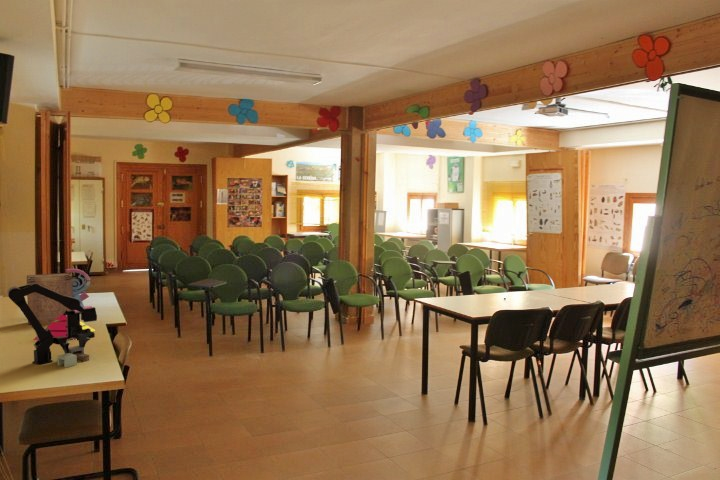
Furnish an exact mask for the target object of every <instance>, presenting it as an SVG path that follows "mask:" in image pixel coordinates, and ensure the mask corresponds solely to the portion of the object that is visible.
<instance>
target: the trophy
mask: <svg viewBox="0 0 720 480" xmlns="http://www.w3.org/2000/svg"><path fill="white" fill-rule="evenodd" d="M65 273H73V276H74V277H75V274H76V273H77V274H79V275H78V276H77V278H78V279H77V278H72V293H73V297H75V298H76V299H78V300H79V301H80V306H81V307H83V309H85V308H92V305H87V306H85V305H84V303H83V301H85V300H86V299H87V298H89V297H90V295H89V294H87V292H86V290H87V289H88V287H90V285H91V281H90V280H92V279H91V278H90V276H89V275H88V273H86V272H85V271H84V270H81V269H78V268H67V269H65ZM82 276H83V277H82ZM79 279H80V280H81V281H82V283H80V281H79ZM85 280H86V281H87V282H86V283H85ZM84 284H85V285H84ZM73 311H75V312H79V311H77V310H73Z"/></svg>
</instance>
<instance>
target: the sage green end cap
mask: <svg viewBox="0 0 720 480" xmlns="http://www.w3.org/2000/svg"><path fill="white" fill-rule="evenodd" d="M56 360H57V366H62V365H63V367H64V368H68V367H69V368H70V367H72V366H77V365H78V360H77V355H74V354H70V353H67V354H65V353H63V354H60V355H57V359H56Z"/></svg>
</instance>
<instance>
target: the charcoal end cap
mask: <svg viewBox="0 0 720 480" xmlns="http://www.w3.org/2000/svg"><path fill="white" fill-rule="evenodd" d="M68 347H69V346H68ZM75 352H79V353H83V354H85V347H81V346H79V345H75V346H70V347H69V353H70V354H73V353H75Z"/></svg>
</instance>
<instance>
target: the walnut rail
mask: <svg viewBox="0 0 720 480" xmlns="http://www.w3.org/2000/svg"><path fill="white" fill-rule="evenodd" d="M73 354H74V355H77V361H80V362H82V363H83V362H87V361H90V354H86V353H84V354H83V353H79V352H75V353H73Z"/></svg>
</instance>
